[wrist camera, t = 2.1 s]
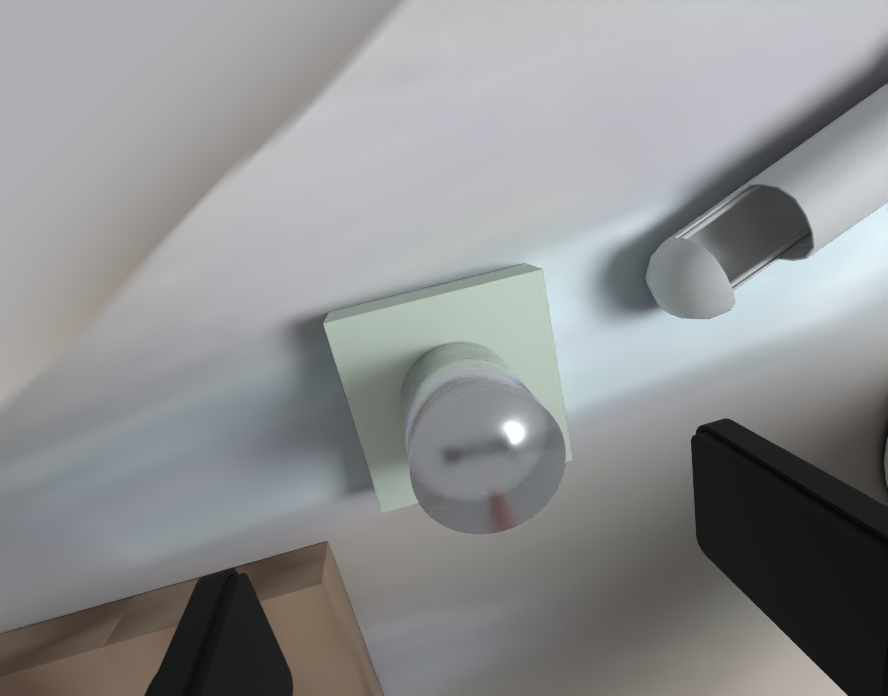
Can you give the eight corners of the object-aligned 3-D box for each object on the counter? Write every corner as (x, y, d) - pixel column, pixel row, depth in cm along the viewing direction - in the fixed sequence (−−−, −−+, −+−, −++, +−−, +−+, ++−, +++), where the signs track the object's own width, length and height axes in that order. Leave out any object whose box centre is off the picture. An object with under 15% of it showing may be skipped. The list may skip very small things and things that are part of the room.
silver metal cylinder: (503, 328, 17) (553, 372, 12) (523, 433, 18) (575, 509, 14) (387, 358, 17) (392, 415, 12) (415, 462, 18) (430, 551, 13)
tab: (525, 263, 19) (542, 268, 17) (554, 437, 21) (572, 460, 19) (328, 312, 18) (323, 323, 16) (381, 485, 20) (382, 513, 18)
